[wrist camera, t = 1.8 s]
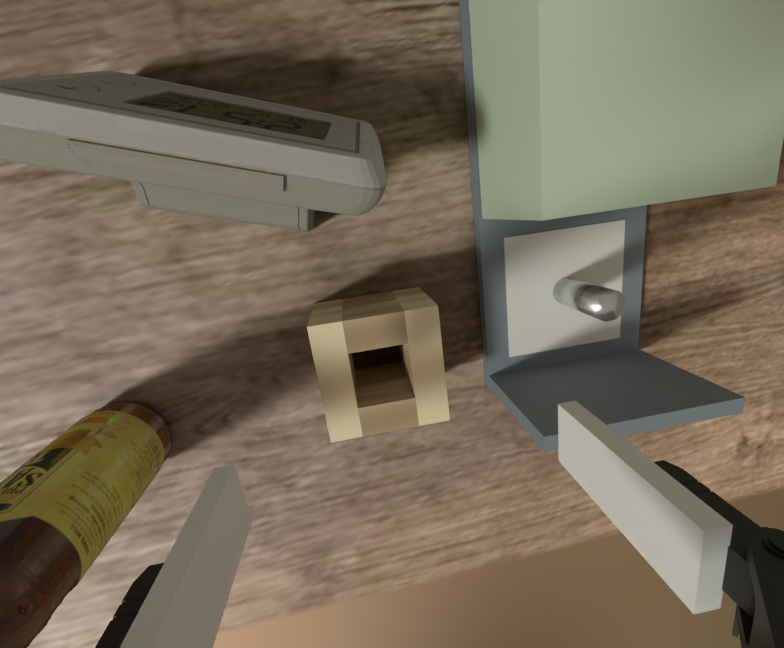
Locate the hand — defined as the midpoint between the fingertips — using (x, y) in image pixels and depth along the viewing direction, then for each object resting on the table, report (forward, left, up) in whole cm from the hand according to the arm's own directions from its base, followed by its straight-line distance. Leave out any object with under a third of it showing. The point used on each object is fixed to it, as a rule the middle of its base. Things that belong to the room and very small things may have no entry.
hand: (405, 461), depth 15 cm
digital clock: (-14, -6, -14) cm, 21 cm away
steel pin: (-2, +14, -14) cm, 20 cm away
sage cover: (-17, +14, -13) cm, 25 cm away
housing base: (-8, +14, -14) cm, 22 cm away
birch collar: (0, 0, -14) cm, 14 cm away
